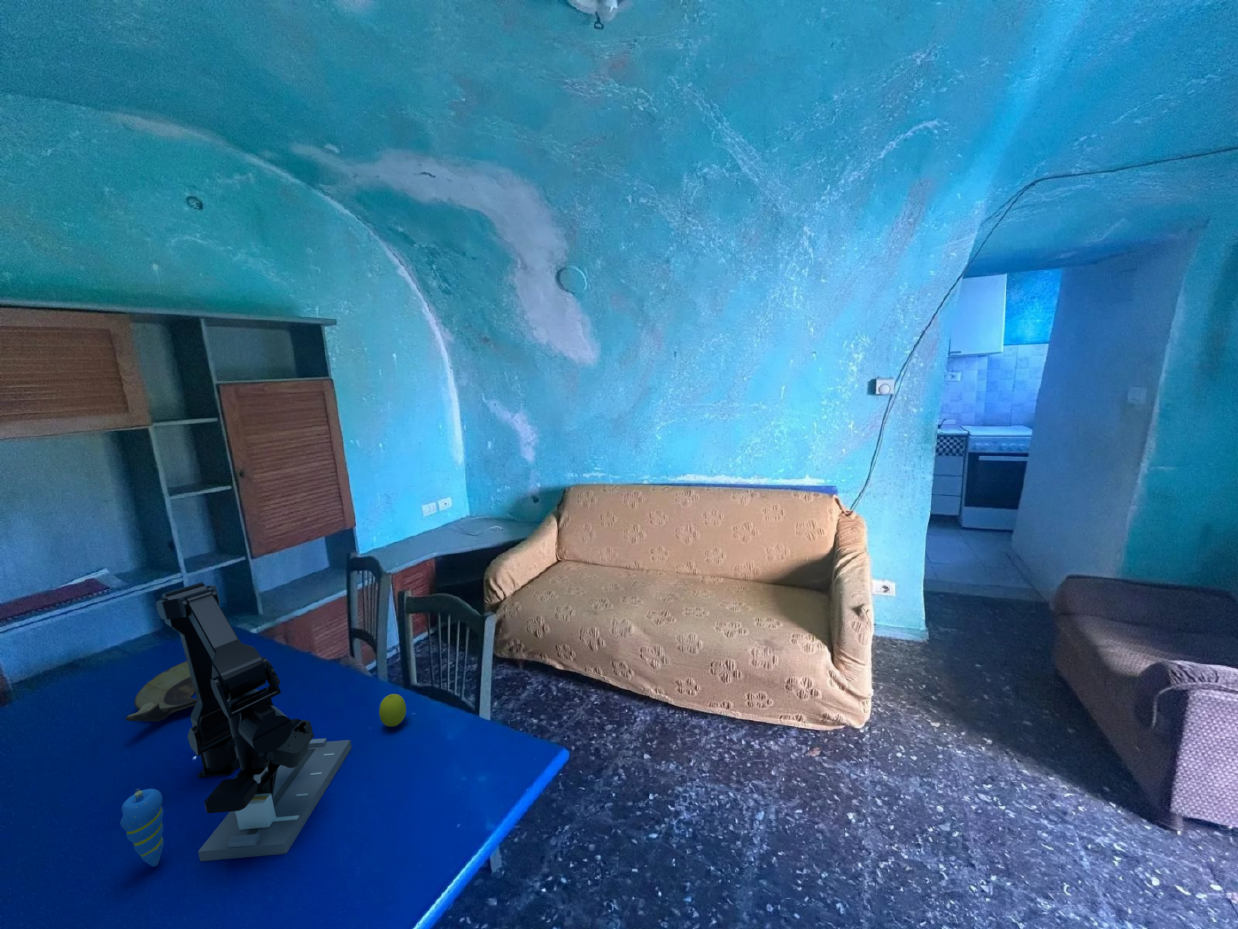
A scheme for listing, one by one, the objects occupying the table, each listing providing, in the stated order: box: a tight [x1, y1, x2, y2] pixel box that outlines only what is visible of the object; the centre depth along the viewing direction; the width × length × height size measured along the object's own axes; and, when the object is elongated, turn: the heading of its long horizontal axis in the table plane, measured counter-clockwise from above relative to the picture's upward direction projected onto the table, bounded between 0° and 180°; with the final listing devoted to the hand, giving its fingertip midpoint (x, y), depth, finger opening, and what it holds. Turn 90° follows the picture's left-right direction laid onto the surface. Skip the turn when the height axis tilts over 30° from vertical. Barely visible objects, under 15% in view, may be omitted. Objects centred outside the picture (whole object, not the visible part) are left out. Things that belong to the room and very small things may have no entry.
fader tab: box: [235, 793, 276, 830], centre depth 88 cm, size 5×2×5 cm, turn 94°
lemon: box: [378, 693, 407, 728], centre depth 114 cm, size 6×6×8 cm
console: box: [197, 737, 352, 862], centre depth 96 cm, size 14×24×3 cm, turn 3°
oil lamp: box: [124, 660, 197, 722], centre depth 127 cm, size 22×30×8 cm
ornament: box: [120, 788, 165, 868], centre depth 83 cm, size 5×5×15 cm
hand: (267, 801), depth 91 cm, fingers closed
